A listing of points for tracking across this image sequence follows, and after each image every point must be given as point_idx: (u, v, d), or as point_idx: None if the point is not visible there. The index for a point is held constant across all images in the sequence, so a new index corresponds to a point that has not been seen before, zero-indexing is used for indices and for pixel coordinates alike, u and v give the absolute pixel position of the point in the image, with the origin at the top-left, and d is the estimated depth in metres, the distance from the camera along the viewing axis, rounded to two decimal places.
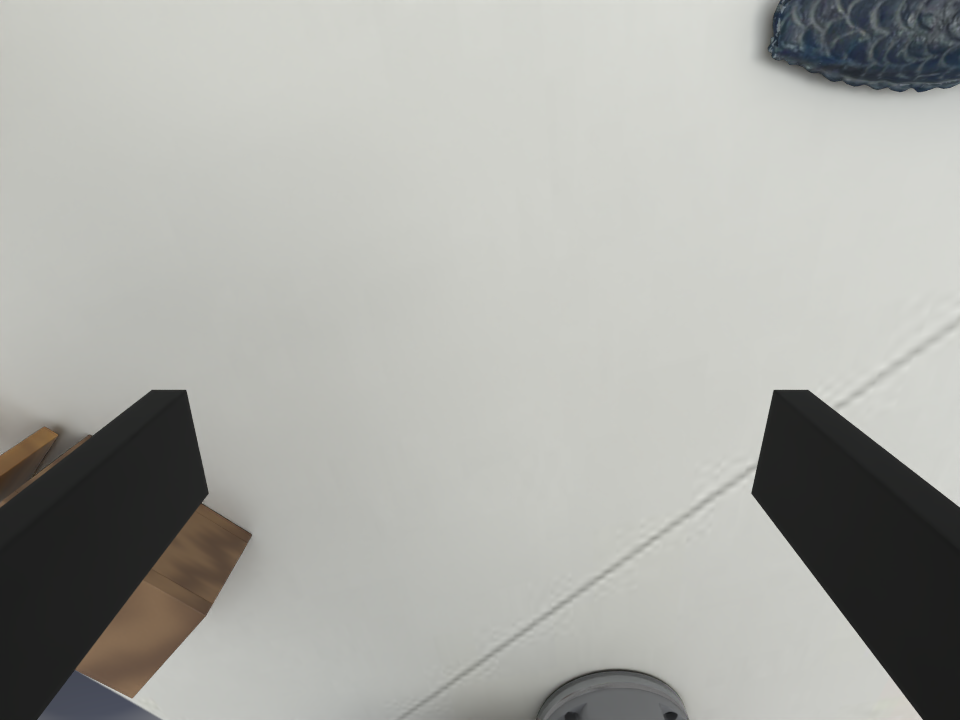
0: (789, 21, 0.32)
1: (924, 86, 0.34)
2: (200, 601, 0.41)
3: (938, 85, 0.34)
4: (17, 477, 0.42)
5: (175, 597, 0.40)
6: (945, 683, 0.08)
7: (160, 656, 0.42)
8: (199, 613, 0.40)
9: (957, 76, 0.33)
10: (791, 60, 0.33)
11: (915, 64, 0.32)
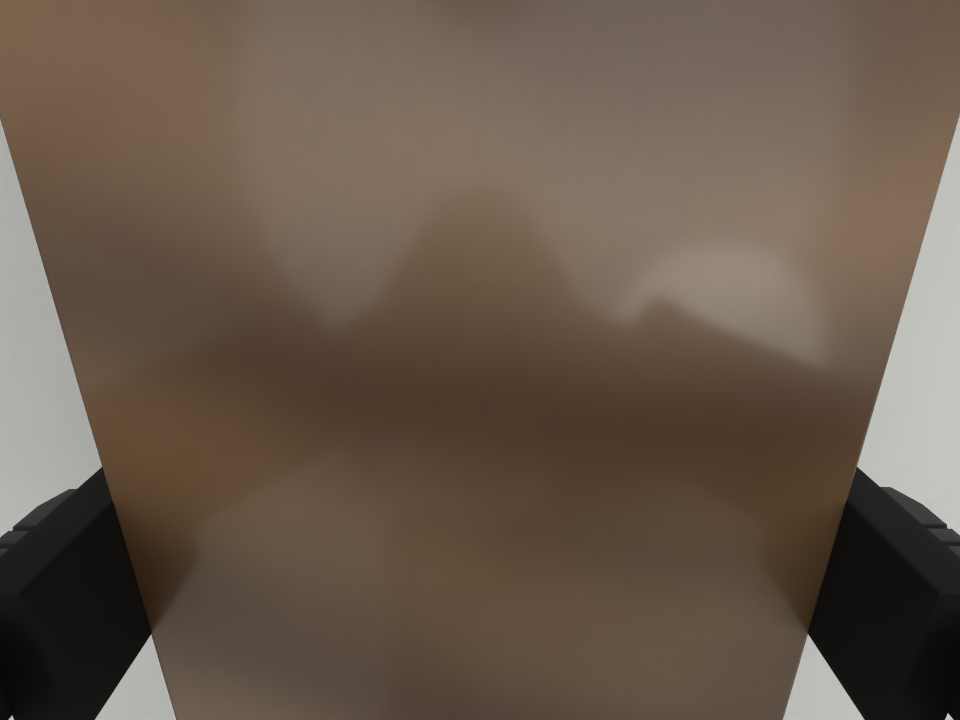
0: None
1: None
2: None
3: None
4: None
5: None
6: (855, 644, 0.08)
7: (473, 717, 0.10)
8: (777, 718, 0.10)
9: None
10: None
11: None
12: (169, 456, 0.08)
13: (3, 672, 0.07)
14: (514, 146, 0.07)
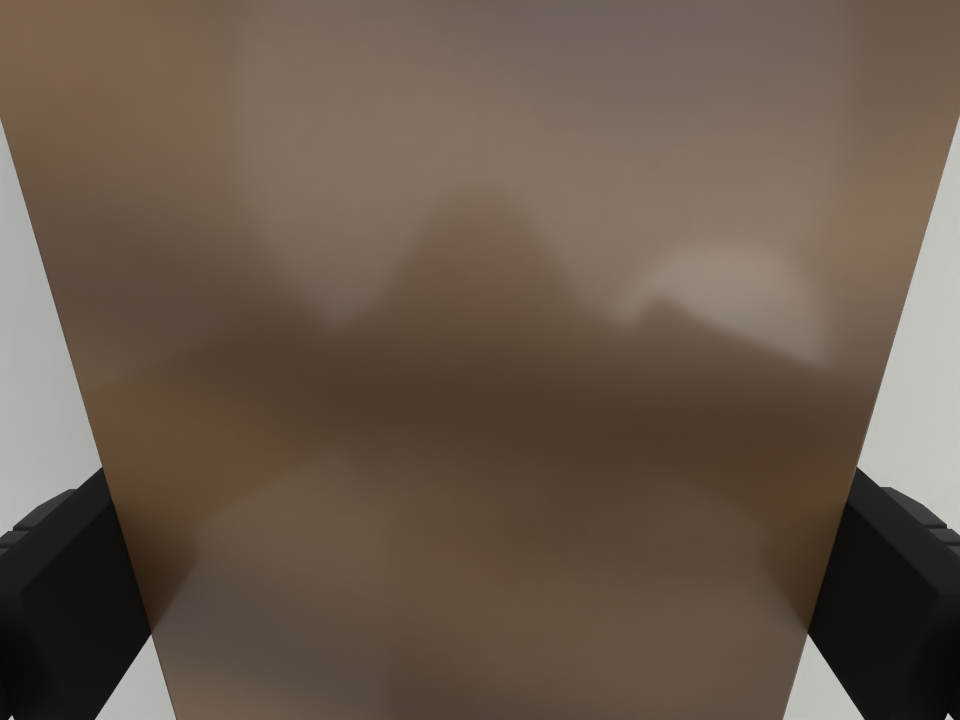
0: None
1: None
2: None
3: None
4: None
5: None
6: (854, 644, 0.08)
7: (473, 717, 0.10)
8: (777, 718, 0.10)
9: None
10: None
11: None
12: (169, 456, 0.08)
13: (3, 672, 0.07)
14: (514, 146, 0.07)
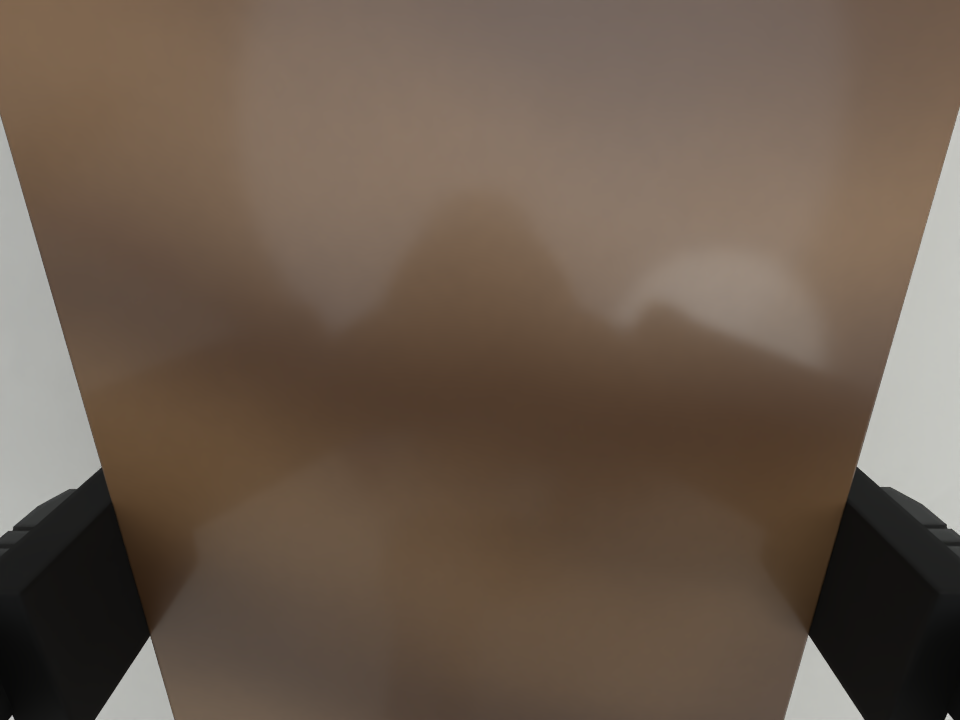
0: None
1: None
2: None
3: None
4: None
5: None
6: (854, 644, 0.08)
7: (472, 718, 0.10)
8: (778, 719, 0.10)
9: None
10: None
11: None
12: (168, 455, 0.08)
13: (3, 672, 0.07)
14: (513, 144, 0.07)
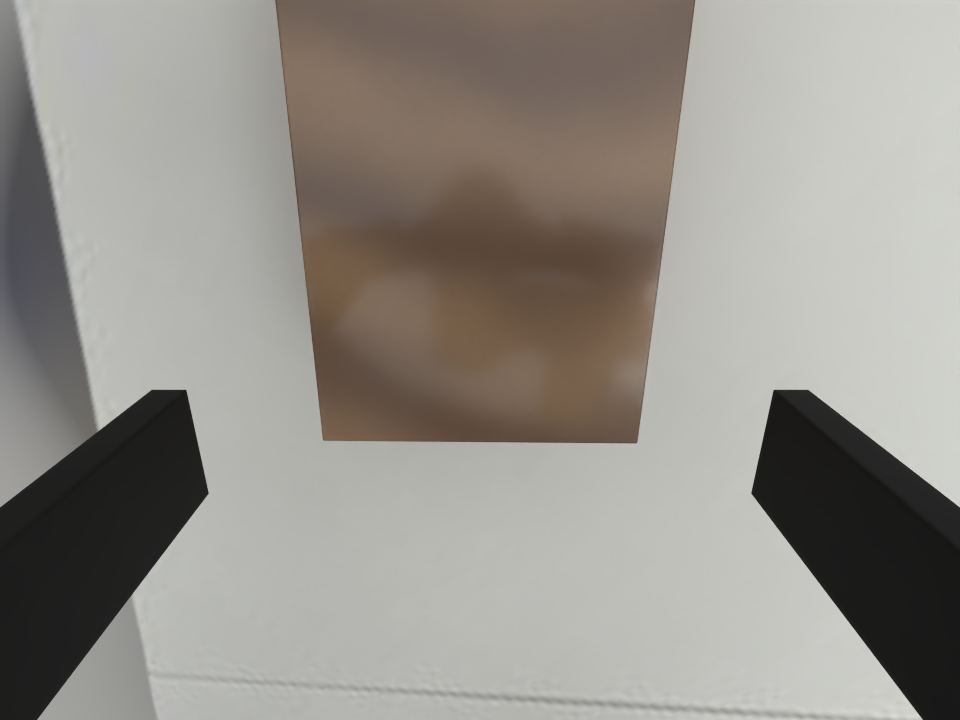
0: None
1: None
2: None
3: None
4: None
5: (643, 378, 0.19)
6: (945, 683, 0.08)
7: (477, 429, 0.20)
8: (635, 432, 0.20)
9: None
10: None
11: None
12: (337, 273, 0.18)
13: None
14: (498, 129, 0.16)
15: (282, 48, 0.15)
